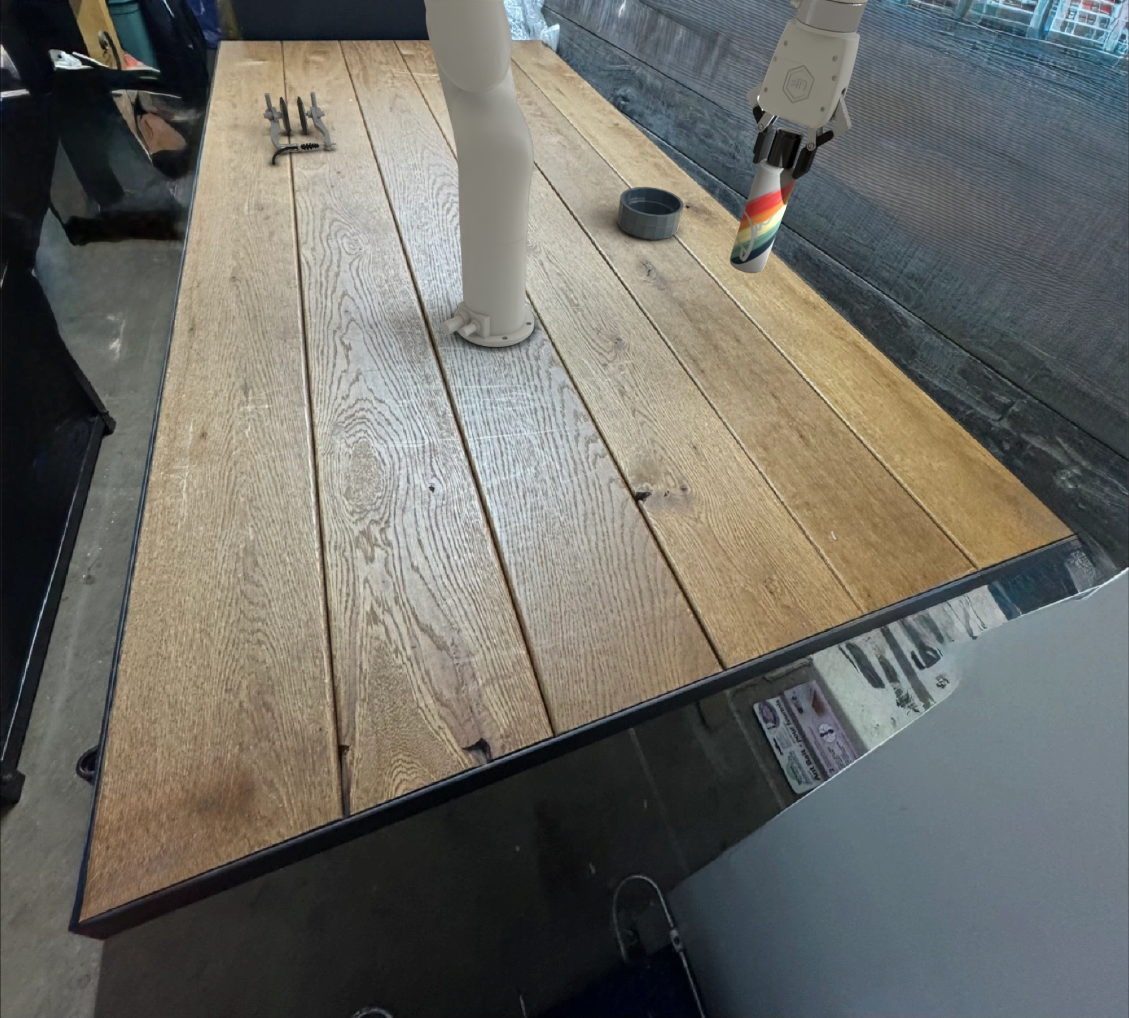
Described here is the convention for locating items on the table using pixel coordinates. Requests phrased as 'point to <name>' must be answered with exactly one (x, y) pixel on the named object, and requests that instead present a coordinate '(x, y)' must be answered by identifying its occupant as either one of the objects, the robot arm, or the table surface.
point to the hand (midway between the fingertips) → (778, 167)
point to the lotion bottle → (766, 203)
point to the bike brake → (275, 127)
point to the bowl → (649, 212)
